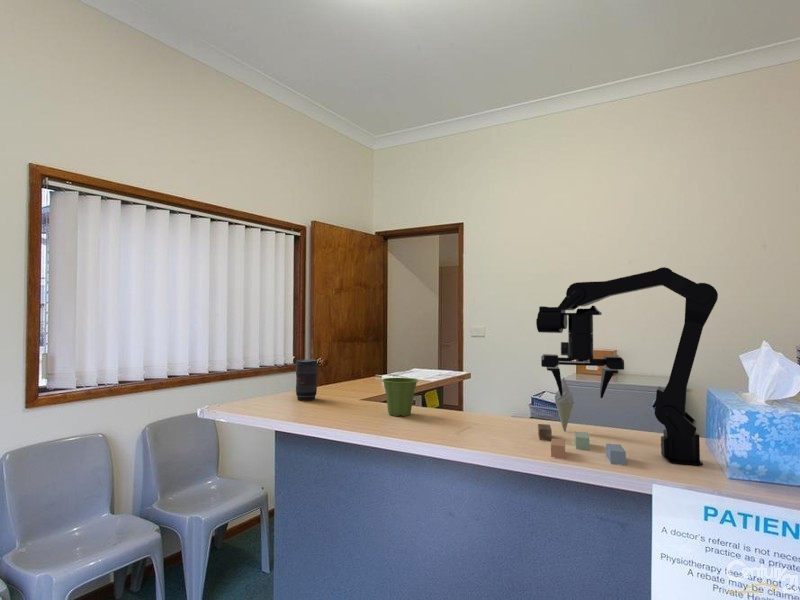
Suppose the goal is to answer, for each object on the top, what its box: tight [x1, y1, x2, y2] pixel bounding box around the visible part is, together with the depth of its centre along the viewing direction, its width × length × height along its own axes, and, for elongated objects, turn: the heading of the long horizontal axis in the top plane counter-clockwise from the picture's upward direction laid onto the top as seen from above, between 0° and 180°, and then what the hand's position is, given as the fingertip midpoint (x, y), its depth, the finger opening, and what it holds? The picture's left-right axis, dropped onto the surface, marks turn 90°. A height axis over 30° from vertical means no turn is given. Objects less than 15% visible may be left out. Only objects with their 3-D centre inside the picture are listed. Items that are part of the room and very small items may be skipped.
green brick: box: [574, 430, 590, 451], centre depth 113 cm, size 3×6×3 cm, turn 162°
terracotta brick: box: [550, 437, 566, 459], centre depth 106 cm, size 3×6×3 cm, turn 160°
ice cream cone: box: [554, 376, 575, 432], centre depth 128 cm, size 5×5×15 cm
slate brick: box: [605, 443, 627, 465], centre depth 101 cm, size 3×6×3 cm, turn 164°
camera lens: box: [295, 358, 318, 401], centre depth 176 cm, size 8×8×15 cm
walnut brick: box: [537, 423, 553, 442], centre depth 121 cm, size 3×6×3 cm, turn 166°
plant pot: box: [381, 377, 419, 417], centre depth 149 cm, size 12×12×11 cm
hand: (581, 396), depth 113 cm, fingers open, 9 cm apart
